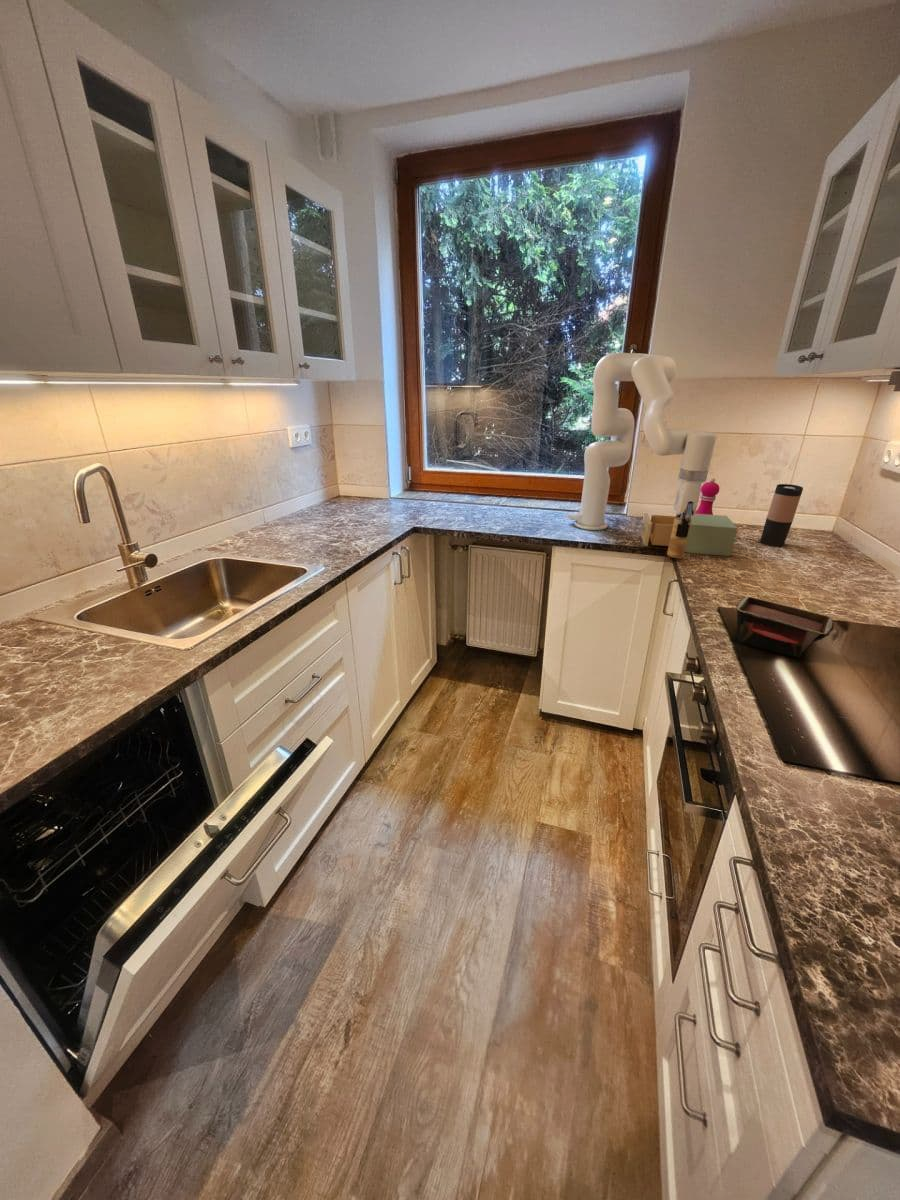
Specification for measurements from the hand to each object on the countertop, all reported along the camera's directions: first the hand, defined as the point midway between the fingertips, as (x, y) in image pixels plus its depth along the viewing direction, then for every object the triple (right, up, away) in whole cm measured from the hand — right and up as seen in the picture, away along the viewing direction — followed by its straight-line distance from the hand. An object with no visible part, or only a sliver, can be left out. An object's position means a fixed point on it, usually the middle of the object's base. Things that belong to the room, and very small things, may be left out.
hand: (679, 533), depth 148 cm
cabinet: (+15, -3, +14) cm, 21 cm away
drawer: (0, 0, +17) cm, 17 cm away
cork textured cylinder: (0, -7, +3) cm, 7 cm away
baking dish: (+1, -30, -42) cm, 52 cm away
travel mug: (+42, -1, +18) cm, 45 cm away
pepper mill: (+22, +5, +30) cm, 38 cm away
